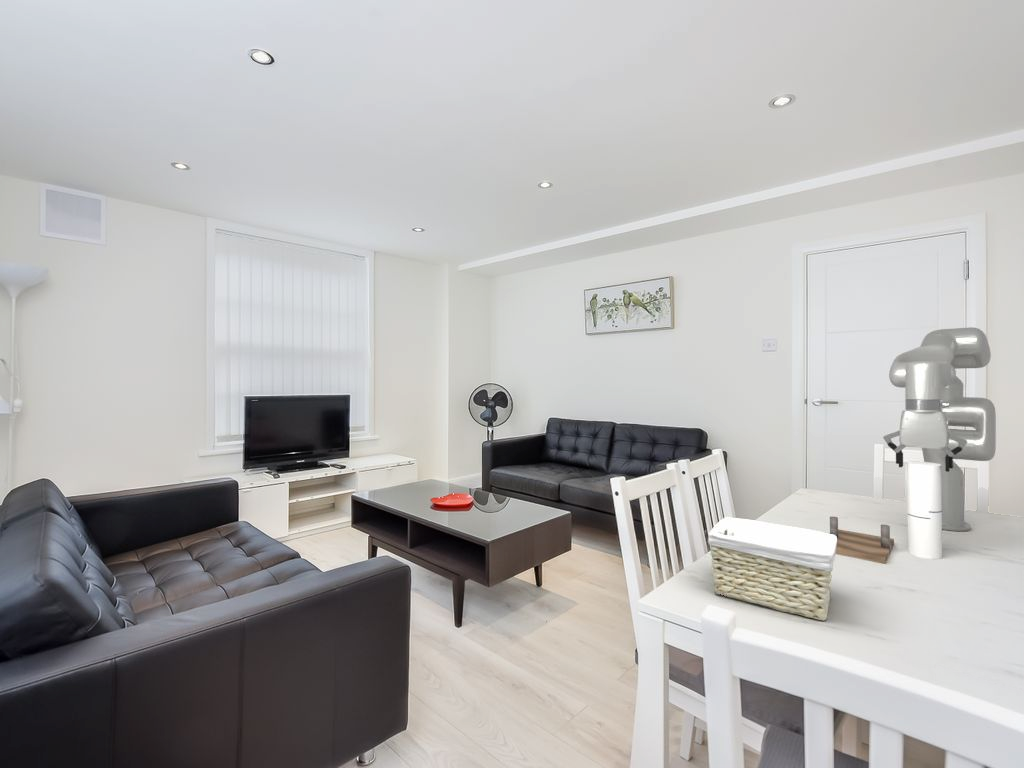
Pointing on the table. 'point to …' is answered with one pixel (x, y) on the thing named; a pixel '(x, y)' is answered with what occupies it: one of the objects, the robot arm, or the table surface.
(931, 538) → the cylindrical container
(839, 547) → the board
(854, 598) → the table surface
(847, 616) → the table surface
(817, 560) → the storage basket
